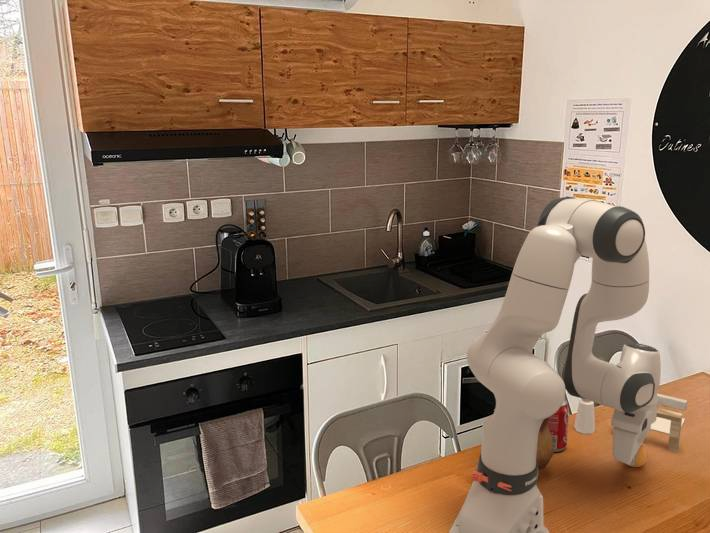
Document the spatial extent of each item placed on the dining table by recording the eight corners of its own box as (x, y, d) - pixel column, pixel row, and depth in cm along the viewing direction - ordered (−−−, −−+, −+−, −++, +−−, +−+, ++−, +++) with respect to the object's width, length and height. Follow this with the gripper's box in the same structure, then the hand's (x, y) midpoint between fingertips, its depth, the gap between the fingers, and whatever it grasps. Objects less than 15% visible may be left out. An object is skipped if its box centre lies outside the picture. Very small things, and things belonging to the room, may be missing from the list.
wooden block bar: (685, 410, 172) (685, 402, 172) (648, 401, 178) (648, 394, 178) (686, 408, 174) (687, 400, 173) (649, 399, 180) (650, 391, 179)
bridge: (676, 453, 150) (680, 418, 147) (614, 435, 159) (617, 402, 156) (678, 448, 152) (682, 413, 150) (617, 431, 161) (620, 398, 159)
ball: (642, 470, 139) (647, 445, 140) (615, 462, 143) (620, 438, 144) (646, 470, 144) (651, 446, 145) (620, 461, 148) (625, 438, 148)
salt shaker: (594, 436, 158) (597, 398, 156) (573, 432, 161) (575, 395, 158) (595, 427, 163) (598, 390, 161) (574, 423, 166) (577, 387, 163)
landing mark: (676, 436, 158) (677, 435, 158) (629, 423, 165) (629, 422, 165) (685, 419, 167) (685, 418, 167) (639, 408, 174) (639, 407, 174)
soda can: (568, 454, 150) (571, 407, 147) (539, 451, 151) (541, 405, 148) (564, 440, 156) (567, 395, 154) (536, 438, 158) (539, 393, 155)
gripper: (632, 390, 147) (628, 440, 150) (609, 422, 131) (604, 477, 134) (660, 397, 143) (655, 448, 146) (639, 430, 127) (634, 487, 130)
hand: (630, 462), depth 140 cm, fingers closed
